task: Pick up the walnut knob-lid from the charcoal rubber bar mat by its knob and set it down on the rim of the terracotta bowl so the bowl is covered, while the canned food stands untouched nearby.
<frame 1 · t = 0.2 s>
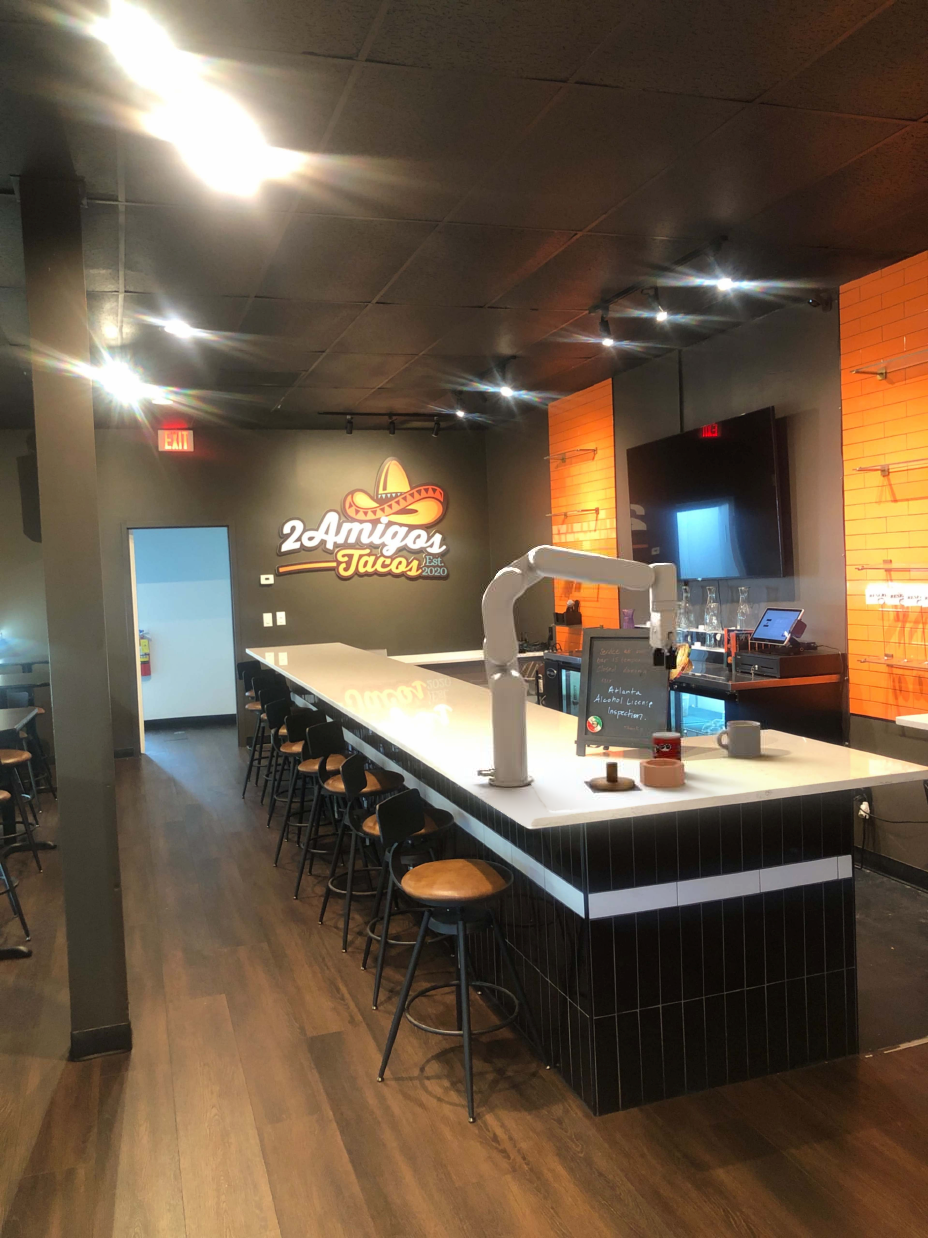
hand: (664, 667, 254), 31 cm above the table, tool pointing down, fingers open, 9 cm apart
lid: (612, 785, 243), point 1 cm above the table, touching mat
bowl: (662, 784, 245), on the table
mat: (612, 788, 243), on the table
coffee mug: (738, 756, 280), on the table
canned food: (667, 772, 260), on the table
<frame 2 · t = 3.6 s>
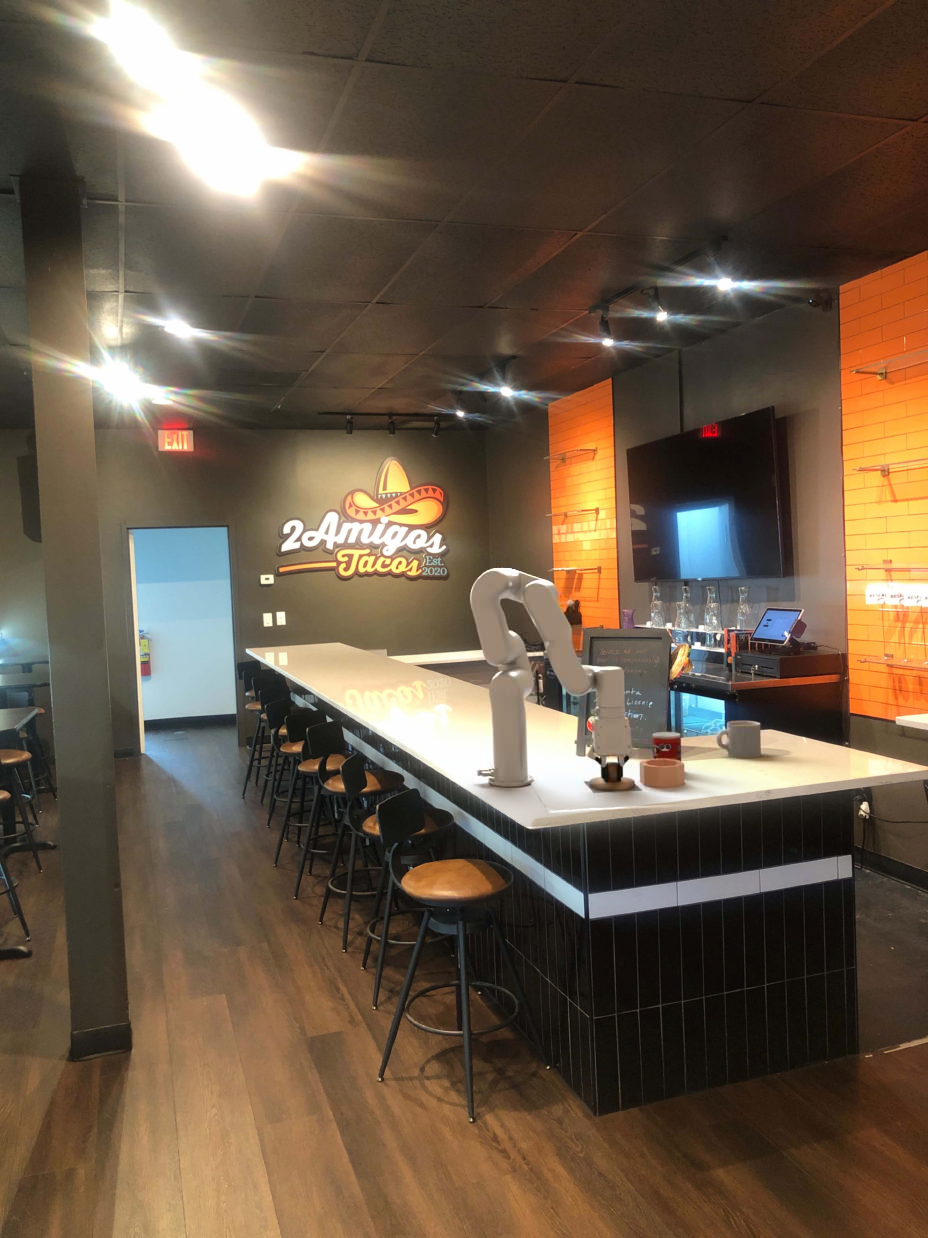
hand: (612, 779, 243), 2 cm above the table, tool pointing down, fingers closed on lid, 3 cm apart
lid: (612, 785, 243), point 1 cm above the table, touching gripper, mat
everything else where it was.
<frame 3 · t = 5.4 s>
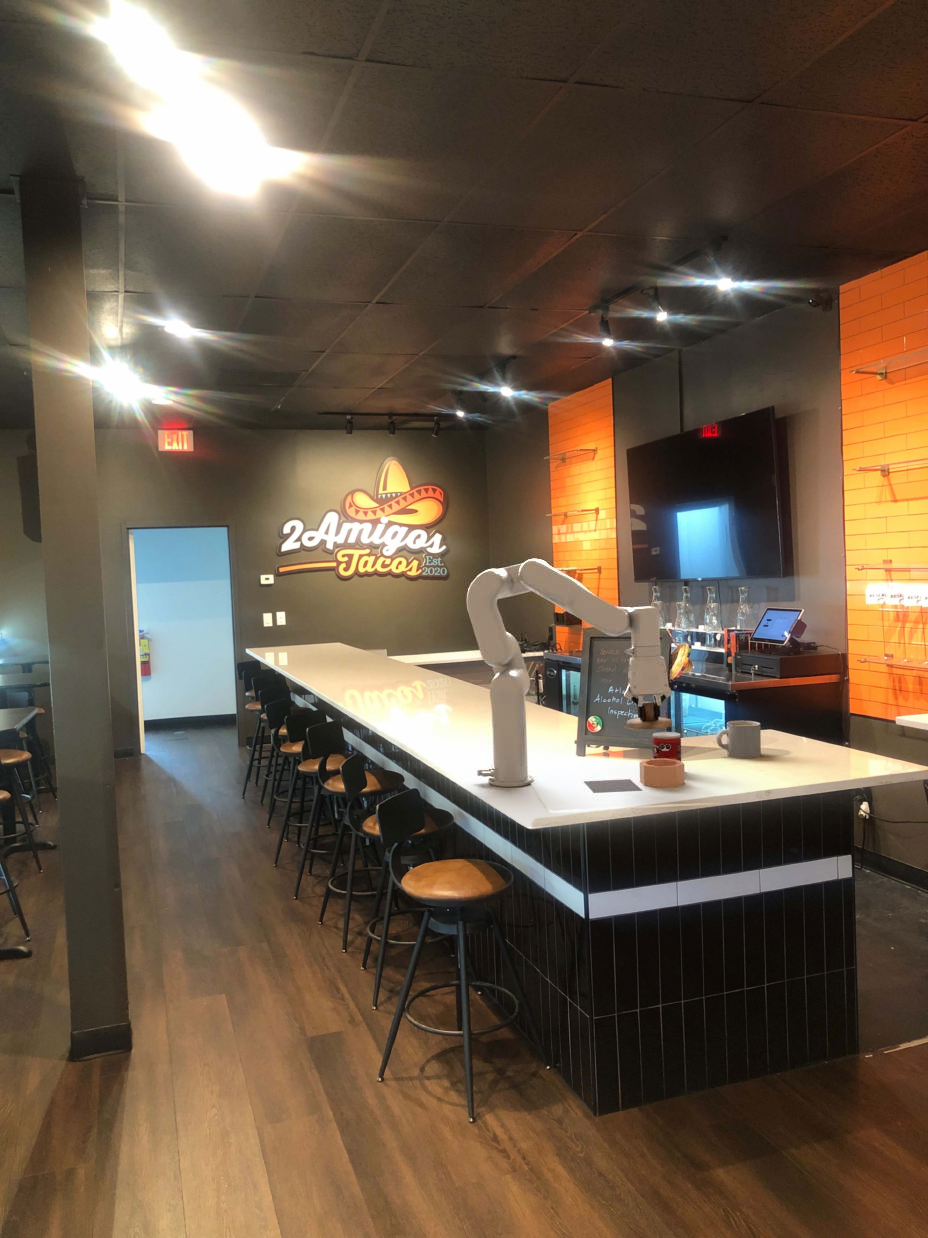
hand: (649, 719, 243), 18 cm above the table, tool pointing down, fingers closed on lid, 3 cm apart
lid: (649, 725, 243), point 16 cm above the table, touching gripper
everything else where it was.
when the fingers open (9 cm above the table, at t = 7.4 s): lid drops 2 cm, resting on bowl.
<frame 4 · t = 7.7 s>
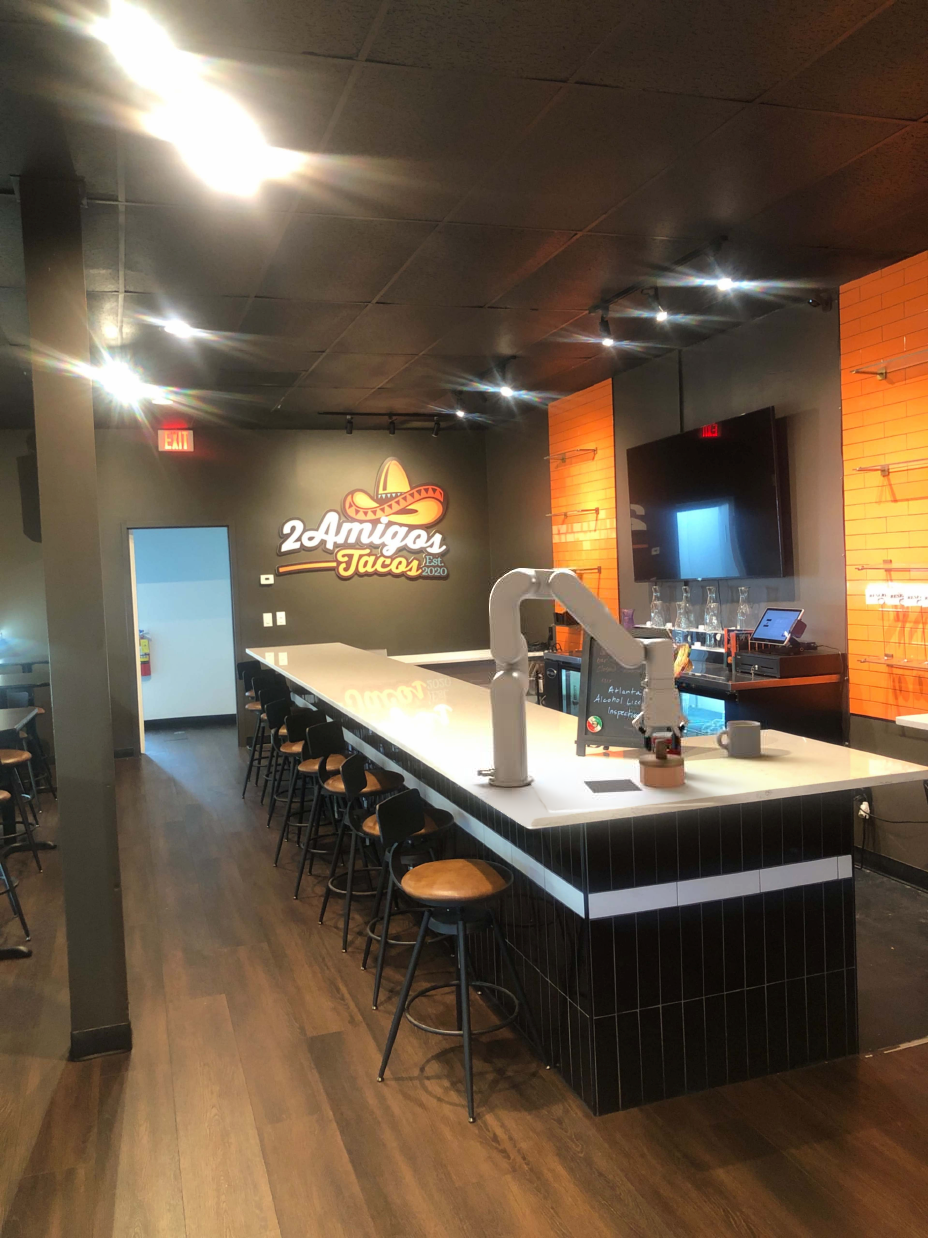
hand: (661, 749, 244), 10 cm above the table, tool pointing down, fingers open, 6 cm apart
lid: (661, 762, 244), point 6 cm above the table, touching bowl
everything else where it was.
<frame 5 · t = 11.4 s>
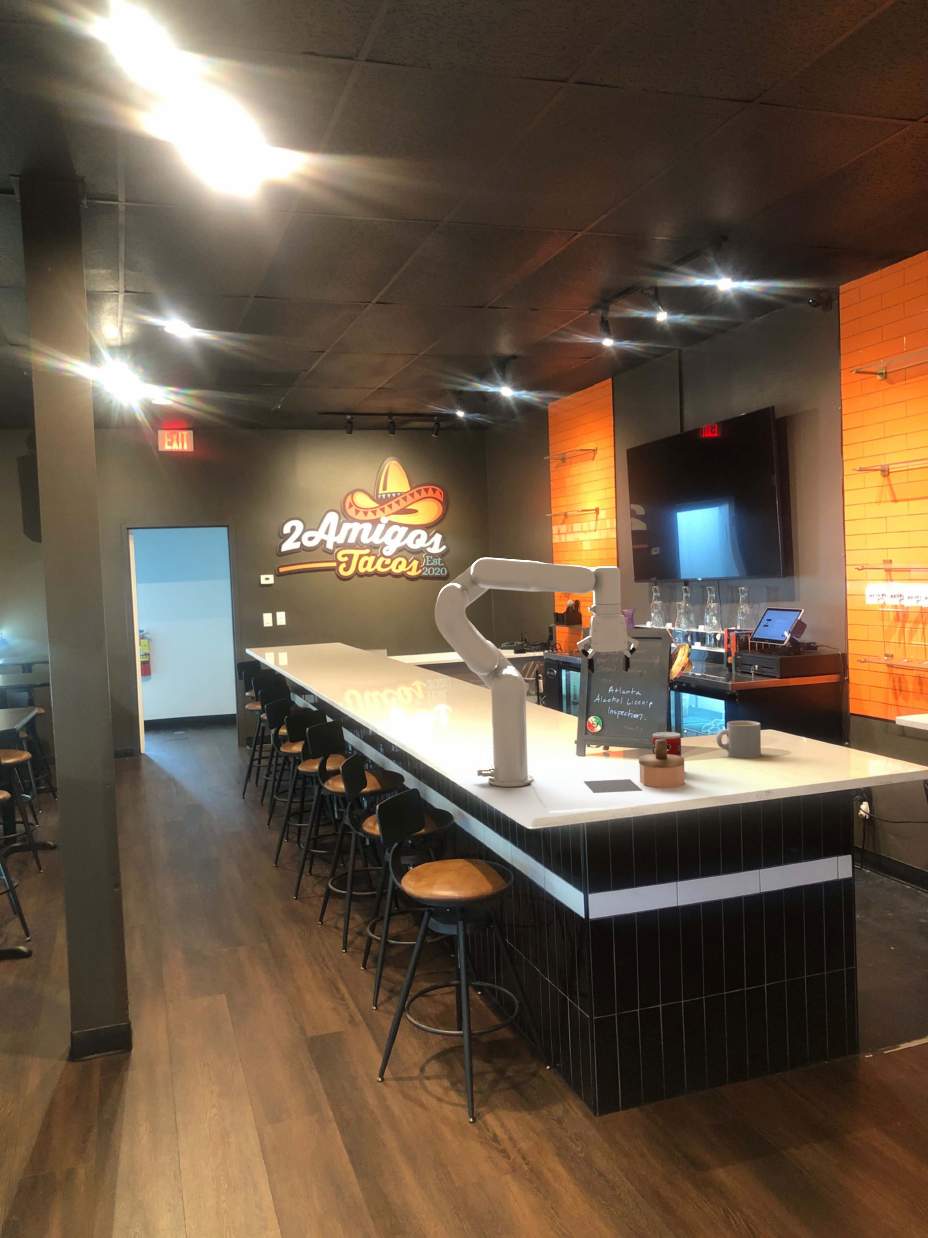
hand: (608, 671, 251), 30 cm above the table, tool pointing down, fingers open, 9 cm apart
nothing on the table moved.
at the end: lid 0.1 cm off-centre on the bowl, point 6.0 cm above the bowl's base; lid tilted 0°; the gripper is holding nothing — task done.
